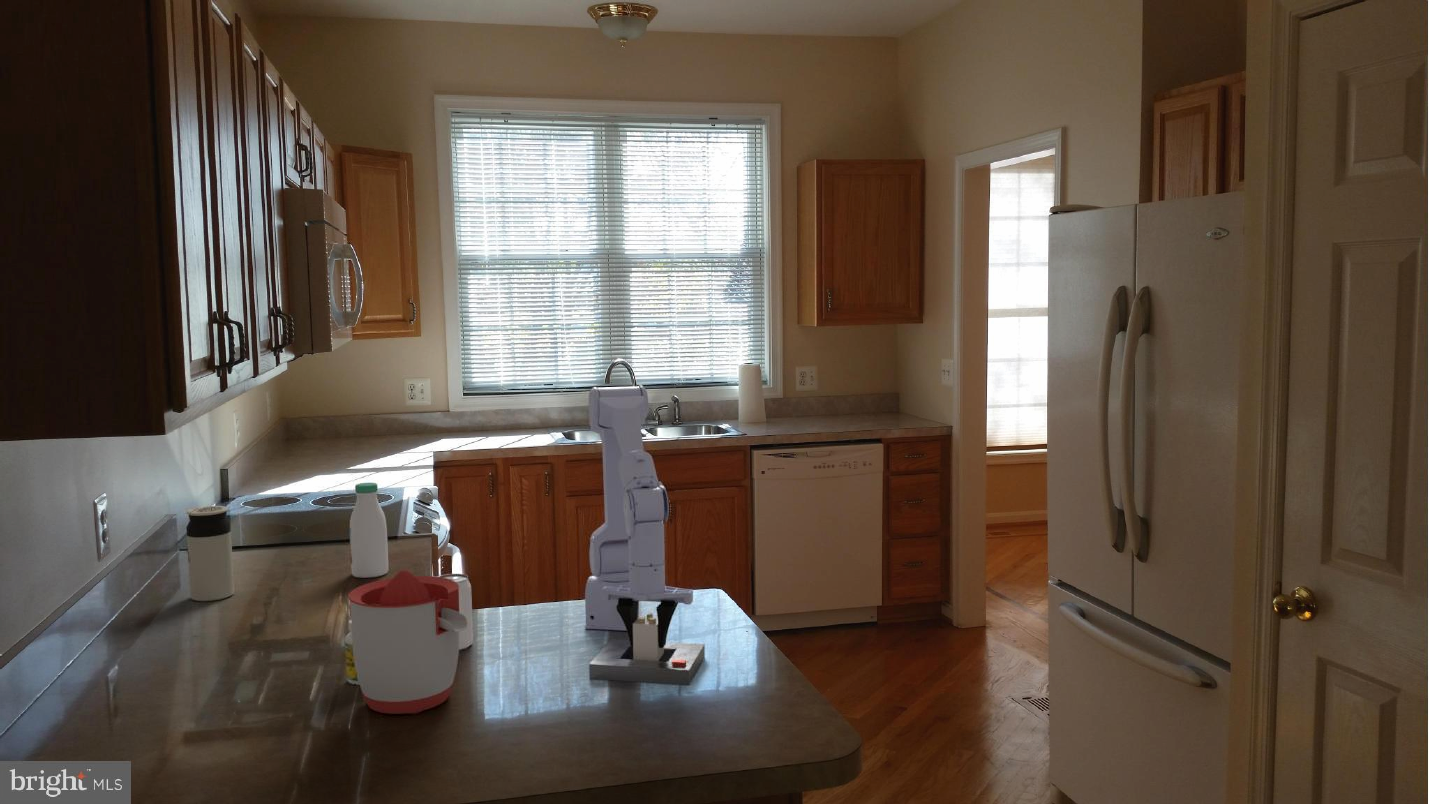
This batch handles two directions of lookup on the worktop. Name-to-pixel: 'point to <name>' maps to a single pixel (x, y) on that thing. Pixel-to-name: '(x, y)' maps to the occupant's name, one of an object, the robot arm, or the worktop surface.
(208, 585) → the travel mug
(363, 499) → the milk bottle
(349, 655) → the supplement bottle
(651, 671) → the socket plate
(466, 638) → the can
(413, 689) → the citrus juicer
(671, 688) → the worktop surface
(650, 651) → the plug
